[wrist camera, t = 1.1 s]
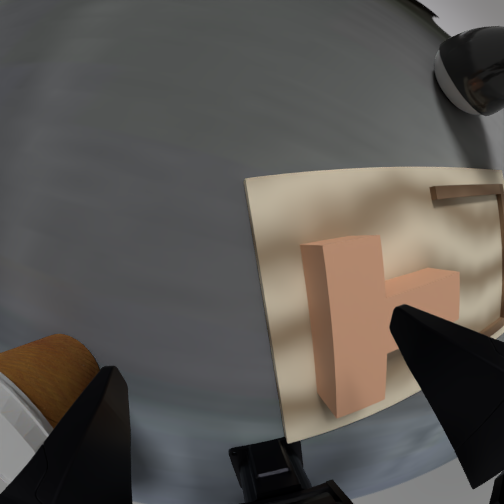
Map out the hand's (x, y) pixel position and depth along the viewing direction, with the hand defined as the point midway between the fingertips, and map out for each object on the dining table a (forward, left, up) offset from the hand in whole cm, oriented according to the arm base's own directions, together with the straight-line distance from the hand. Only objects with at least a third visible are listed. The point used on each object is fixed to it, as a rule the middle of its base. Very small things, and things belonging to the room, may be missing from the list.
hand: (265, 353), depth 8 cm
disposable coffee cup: (-5, +15, -12) cm, 20 cm away
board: (-4, -19, -12) cm, 23 cm away
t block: (-4, -11, -11) cm, 16 cm away
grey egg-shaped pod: (+18, -30, -12) cm, 37 cm away
